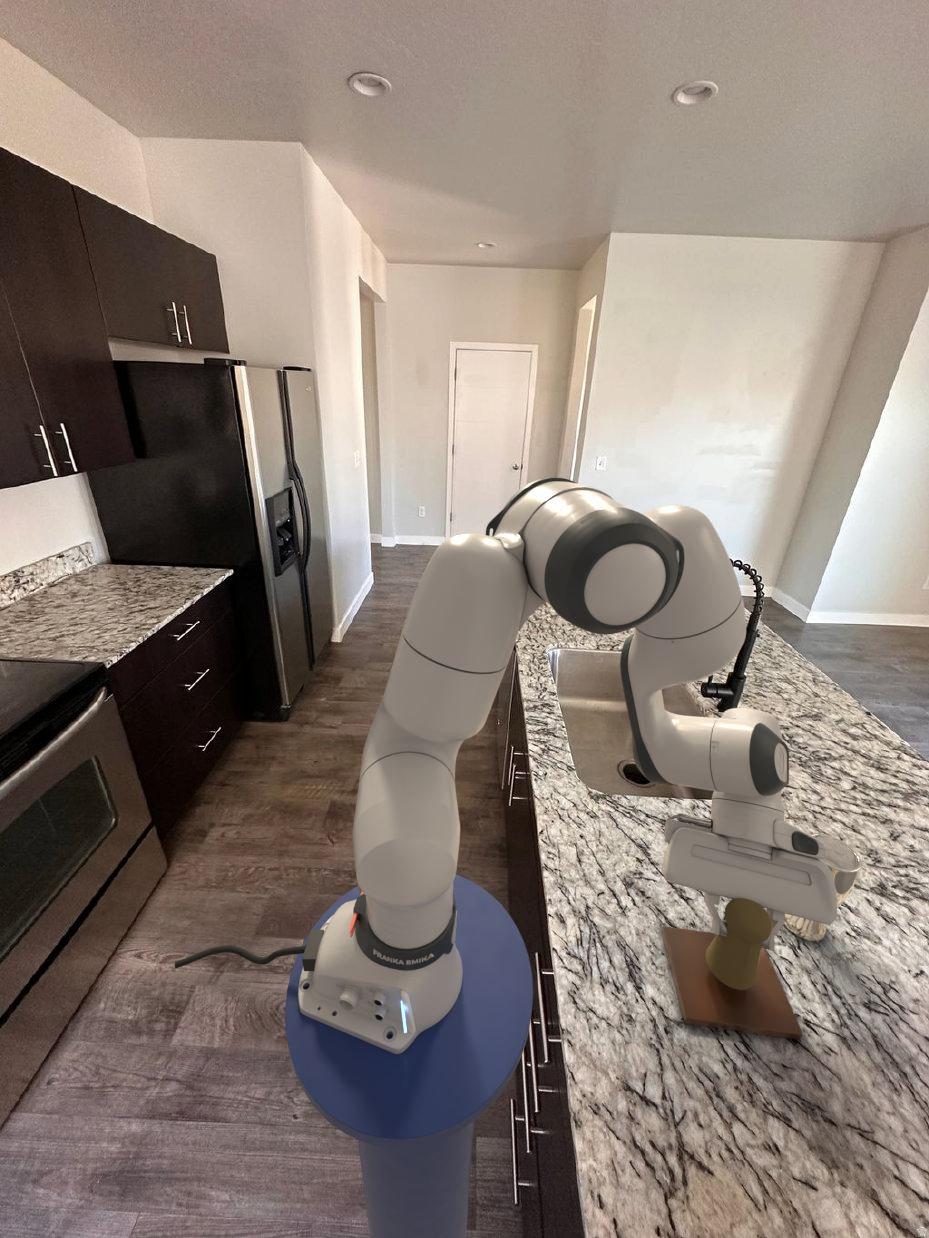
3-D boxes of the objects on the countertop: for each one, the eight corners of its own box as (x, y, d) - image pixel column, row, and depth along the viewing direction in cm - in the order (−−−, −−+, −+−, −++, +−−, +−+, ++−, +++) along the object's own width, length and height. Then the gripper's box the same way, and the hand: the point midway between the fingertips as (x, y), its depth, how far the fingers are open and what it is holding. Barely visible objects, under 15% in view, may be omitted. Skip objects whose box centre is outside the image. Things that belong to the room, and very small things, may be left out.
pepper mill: (704, 935, 69) (723, 882, 65) (752, 953, 67) (774, 898, 63) (706, 977, 64) (726, 922, 60) (758, 998, 62) (783, 942, 57)
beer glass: (764, 907, 77) (792, 837, 71) (797, 895, 79) (827, 827, 73) (804, 950, 71) (839, 878, 65) (839, 936, 73) (876, 865, 67)
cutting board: (684, 1023, 62) (686, 1017, 62) (660, 931, 73) (662, 925, 73) (800, 1040, 61) (803, 1034, 60) (758, 943, 72) (761, 938, 71)
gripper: (670, 809, 67) (660, 921, 63) (842, 848, 62) (845, 974, 57) (662, 810, 73) (653, 913, 68) (819, 846, 67) (820, 961, 63)
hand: (742, 941), depth 63 cm, fingers closed on pepper mill, 4 cm apart
